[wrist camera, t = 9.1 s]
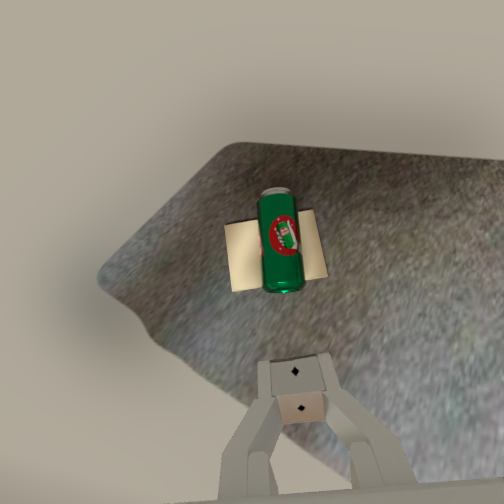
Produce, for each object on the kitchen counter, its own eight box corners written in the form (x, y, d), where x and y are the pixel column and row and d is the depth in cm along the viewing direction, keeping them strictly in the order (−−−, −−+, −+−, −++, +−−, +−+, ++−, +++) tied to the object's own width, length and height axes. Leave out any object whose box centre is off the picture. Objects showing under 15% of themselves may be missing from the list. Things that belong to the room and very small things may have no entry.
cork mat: (312, 211, 36) (313, 209, 35) (327, 276, 33) (327, 275, 32) (225, 227, 37) (224, 225, 36) (233, 291, 34) (232, 291, 33)
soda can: (271, 294, 33) (265, 207, 37) (311, 290, 31) (300, 198, 35) (254, 290, 29) (249, 192, 32) (299, 285, 27) (289, 181, 30)
